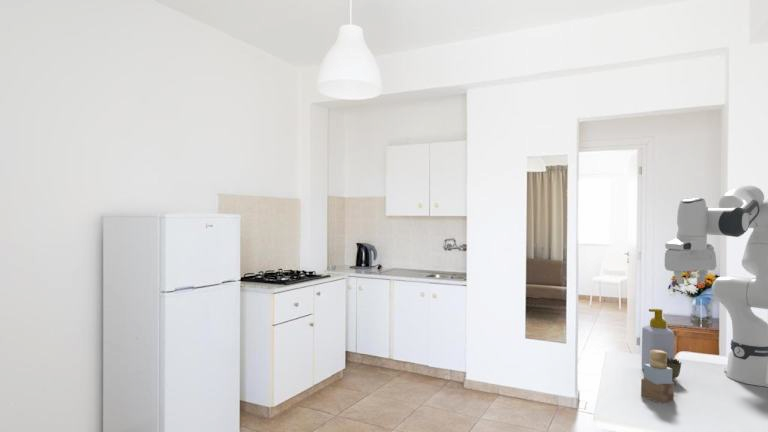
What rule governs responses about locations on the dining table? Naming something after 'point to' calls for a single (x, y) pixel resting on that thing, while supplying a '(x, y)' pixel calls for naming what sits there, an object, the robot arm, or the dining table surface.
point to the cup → (674, 367)
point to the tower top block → (658, 375)
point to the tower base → (657, 391)
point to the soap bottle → (657, 337)
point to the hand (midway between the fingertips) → (690, 283)
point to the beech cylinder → (658, 359)
